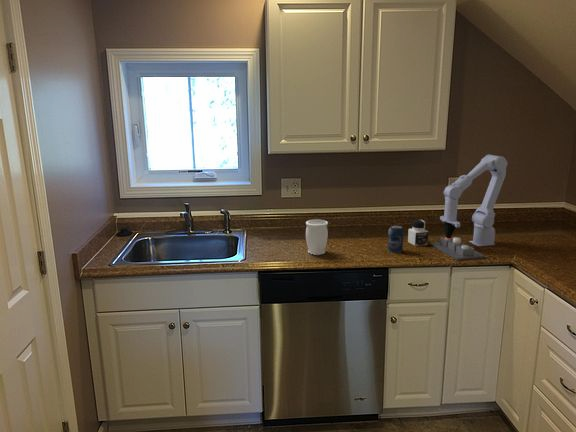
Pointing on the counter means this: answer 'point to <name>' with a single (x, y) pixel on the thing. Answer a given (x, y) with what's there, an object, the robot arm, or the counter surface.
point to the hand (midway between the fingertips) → (448, 237)
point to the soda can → (395, 239)
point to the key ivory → (456, 240)
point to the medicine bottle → (418, 233)
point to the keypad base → (456, 250)
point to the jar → (316, 236)
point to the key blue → (465, 247)
